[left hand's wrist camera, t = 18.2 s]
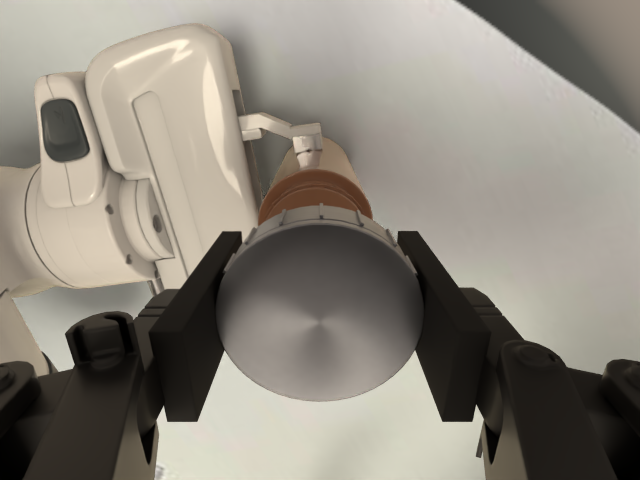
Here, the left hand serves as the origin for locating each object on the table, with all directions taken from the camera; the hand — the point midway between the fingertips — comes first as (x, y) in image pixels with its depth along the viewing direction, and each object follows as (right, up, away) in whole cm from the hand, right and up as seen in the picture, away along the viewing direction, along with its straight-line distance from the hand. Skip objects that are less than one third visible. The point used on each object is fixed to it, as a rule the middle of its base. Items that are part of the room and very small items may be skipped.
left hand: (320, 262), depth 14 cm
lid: (0, -1, -4) cm, 4 cm away
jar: (0, +7, +15) cm, 16 cm away
